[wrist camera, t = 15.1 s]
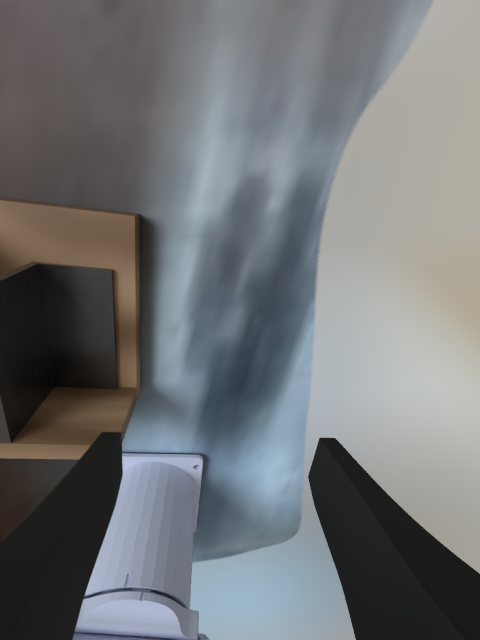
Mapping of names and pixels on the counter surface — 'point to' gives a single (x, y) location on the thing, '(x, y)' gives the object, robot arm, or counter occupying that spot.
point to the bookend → (53, 336)
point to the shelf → (124, 258)
